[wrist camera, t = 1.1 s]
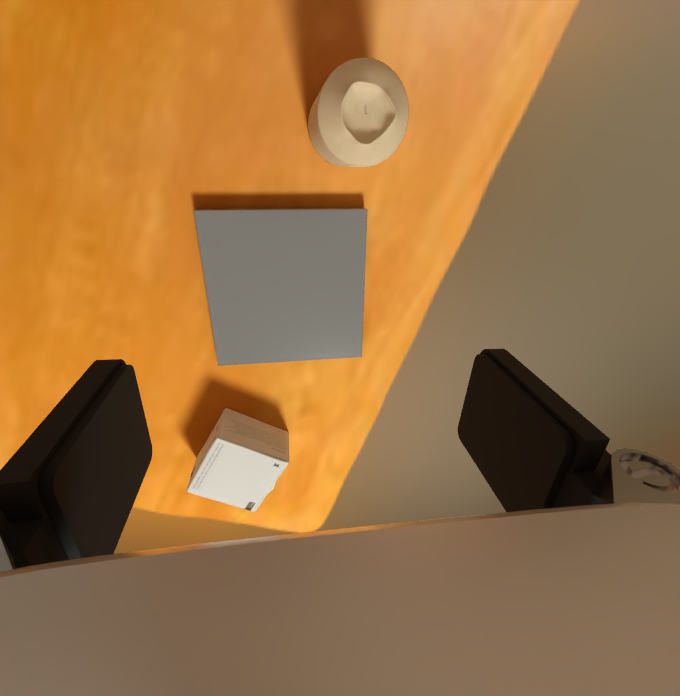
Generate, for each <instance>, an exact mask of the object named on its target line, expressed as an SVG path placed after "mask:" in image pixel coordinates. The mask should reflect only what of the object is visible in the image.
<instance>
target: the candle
mask: <svg viewBox="0 0 680 696" xmlns="http://www.w3.org/2000/svg"><path fill="white" fill-rule="evenodd" d="M408 118H409V106H408V99H407V94H406V91H405V88H404V86H403V84H402V82H401V80H400V79H399V77H398V76H397V74H396V73H395V72H394V71H393V70H392V69H391V68H390V67H389V66H387V65H386V64H385V63H383V62H381V61H379V60H376V59H373V58H367V57H361V58H354V59H351V60H348V61H346V62H344V63H343V64H341V65H340V66H338V67H337V68H336V69H335V70H334V71H333V72H332V73H331V74H330V75H329V77H328V78H327V80H326V81H325V83H324V85H323V87H322V88H321V90H320V92H319V94H318V96H317V97H316V99H315V101H314V103H313V105H312V107H311V110H310V113H309V119H308V132H309V137H310V140H311V143H312V145H313V147H314V149H315V150H316V152H317V153H318V154H319V155H320V156H321V157H322V158H323V159H324V160H326V161H327V162H329V163H331V164H334V165H338V166H351V167H368V166H373V165H376V164H378V163H380V162H382V161H384V160H385V159H387V158H388V157H389V156H390V155H391V154H393V152H394V151H395V150H396V149H397V148H398V146H399V145H400V143H401V141H402V139H403V137H404V134H405V132H406V128H407V124H408Z"/></svg>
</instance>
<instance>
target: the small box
mask: <svg viewBox="0 0 680 696" xmlns="http://www.w3.org/2000/svg"><path fill="white" fill-rule="evenodd" d="M288 464H289V433H288V431H285V430H282V429H279V428H277V427H274V426H272V425H269V424H267V423H264V422H262V421H259V420H256V419H254V418H251V417H249V416H246V415H244V414H241V413H238V412H236V411H233V410H231V409H228V408H225V409H224V411H223V412H222V414H221V416H220V418H219V420H218V421H217V423H216V425H215V427H214V429H213V430H212V432H211V434H210V435H209V437H208V439H207V441H206V442H205V444H204V446H203V448H202V449H201V451H200V452H199V454H198V456H197V457H196V460H195V464H194V467H193V470H192V474H191V477H190V481H189V484H188V487H187V492H189V493H192V494H195V495H199V496H202V497H205V498H209V499H212V500H216V501H219V502H223V503H226V504H230V505H233V506H236V507H239V508H243V509H246V510H250V511H253V512H254V511H256V510H257V508H258V507H259V505H260V504H261V503H262V501H263V500H264V498H265V497H266V495H267V494H268V493H269V492H270V491H271V490H273V488H274V486H275V482H276V481H277V479H278V478H279V476H280V475H281V474H282V472H283V471H284V469H285V468H286V466H287V465H288Z"/></svg>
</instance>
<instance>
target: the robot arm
mask: <svg viewBox="0 0 680 696" xmlns="http://www.w3.org/2000/svg"><path fill="white" fill-rule="evenodd" d="M458 435H459V438H460V440H461V442H462V443H463V445H464V447H465V448H466V449H467V451H468V453H469V454H470V456H471V457H472V459H473V460H474V462H475V463H476V465H477V467H478V468H479V470H480V471H481V473H482V474H483V476H484V478H485V479H486V481H487V482H488V484H489V485H490V487H491V489H492V490H493V492H494V493H495V495H496V496H497V498H498V499H499V501H500V502H501V504H502V506H503V507H504V509H505V510H506V512H505V513H495V514H484V515H474V516H464V517H454V518H443V519H433V520H424V521H413V522H403V523H394V524H383V525H373V526H364V527H354V528H344V529H336V530H325V531H315V532H306V533H296V534H287V535H278V536H270V537H259V538H250V539H242V540H232V541H222V542H213V543H204V544H195V545H186V546H176V547H167V548H160V549H151V550H142V551H134V552H126V553H118V554H113V553H114V551H115V548H116V546H117V543H118V541H119V538H120V535H121V533H122V531H123V528H124V526H125V524H126V521H127V519H128V516H129V513H130V511H131V509H132V506H133V504H134V501H135V499H136V496H137V494H138V491H139V489H140V486H141V484H142V481H143V479H144V476H145V474H146V471H147V469H148V466H149V464H150V461H151V458H152V444H151V440H150V436H149V431H148V427H147V423H146V419H145V414H144V410H143V406H142V401H141V397H140V393H139V389H138V384H137V380H136V376H135V371H134V368H133V366H132V365H126V363H125V362H124V361H123V360H122V359H118V360H96V361H95V362H94V363H93V364H92V365H91V366H90V367H89V368H88V369H87V371H86V372H85V373H84V374H83V375H82V376H81V378H80V379H79V380H78V381H77V382H76V383H75V385H74V386H73V387H72V388H71V389H70V390H69V391H68V393H67V394H66V395H65V396H64V397H63V398H62V400H61V401H60V402H59V403H58V404H57V405H56V407H55V408H54V409H53V410H52V411H51V412H50V414H49V415H48V416H47V417H46V418H45V419H44V420H43V422H42V423H41V424H40V425H39V426H38V427H37V429H36V430H35V431H34V432H33V433H32V434H31V436H30V437H29V438H28V439H27V440H26V441H25V443H24V444H23V445H22V446H21V447H20V448H19V449H18V451H17V452H16V453H15V454H14V455H13V456H12V458H11V459H10V460H9V461H8V462H7V463H6V465H5V466H4V467H3V468H2V469H1V470H0V696H680V469H678V468H677V467H675V466H674V465H673V464H672V463H670V462H668V461H666V460H664V459H662V458H661V457H659V456H656V455H654V454H651V453H649V452H646V451H642V450H638V449H631V448H622V449H617V450H616V451H614V452H613V453H612V455H610V454H609V453H608V452H607V451H606V450H605V449H606V447H607V445H608V442H609V440H610V439H609V438H608V437H607V436H606V435H605V434H603V433H602V432H601V431H600V430H599V429H598V428H596V427H595V426H594V425H593V424H592V423H591V422H589V421H588V420H587V419H586V418H585V417H583V416H582V415H581V414H580V413H579V412H578V411H577V410H575V409H574V408H573V407H572V406H571V405H570V404H568V403H567V402H566V401H565V400H564V399H562V398H561V397H560V396H559V395H558V394H557V393H556V392H554V391H553V390H552V389H551V388H550V387H548V386H547V385H546V384H545V383H544V382H543V381H542V380H540V379H539V378H538V377H537V376H536V375H535V374H533V373H532V372H531V371H530V370H529V369H528V368H526V367H525V366H524V365H523V364H522V363H521V362H519V361H518V360H517V359H516V358H515V357H514V356H512V355H511V354H510V353H509V352H508V351H507V350H505V349H484V350H483V351H482V352H481V353H480V354H478V355H477V356H476V357H475V360H474V364H473V368H472V372H471V376H470V380H469V385H468V388H467V393H466V396H465V401H464V405H463V409H462V413H461V417H460V421H459V425H458Z"/></svg>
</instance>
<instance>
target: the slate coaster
mask: <svg viewBox="0 0 680 696" xmlns="http://www.w3.org/2000/svg"><path fill="white" fill-rule="evenodd" d="M194 214H195V221H196V227H197V234H198V240H199V246H200V253H201V259H202V266H203V272H204V278H205V285H206V291H207V298H208V304H209V310H210V317H211V323H212V330H213V336H214V342H215V349H216V355H217V362H218V366H221V365H238V364H254V363H270V362H287V361H303V360H319V359H336V358H352V357H362V339H363V312H364V285H365V258H366V231H367V209H366V208H268V209H196V210H194Z"/></svg>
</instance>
